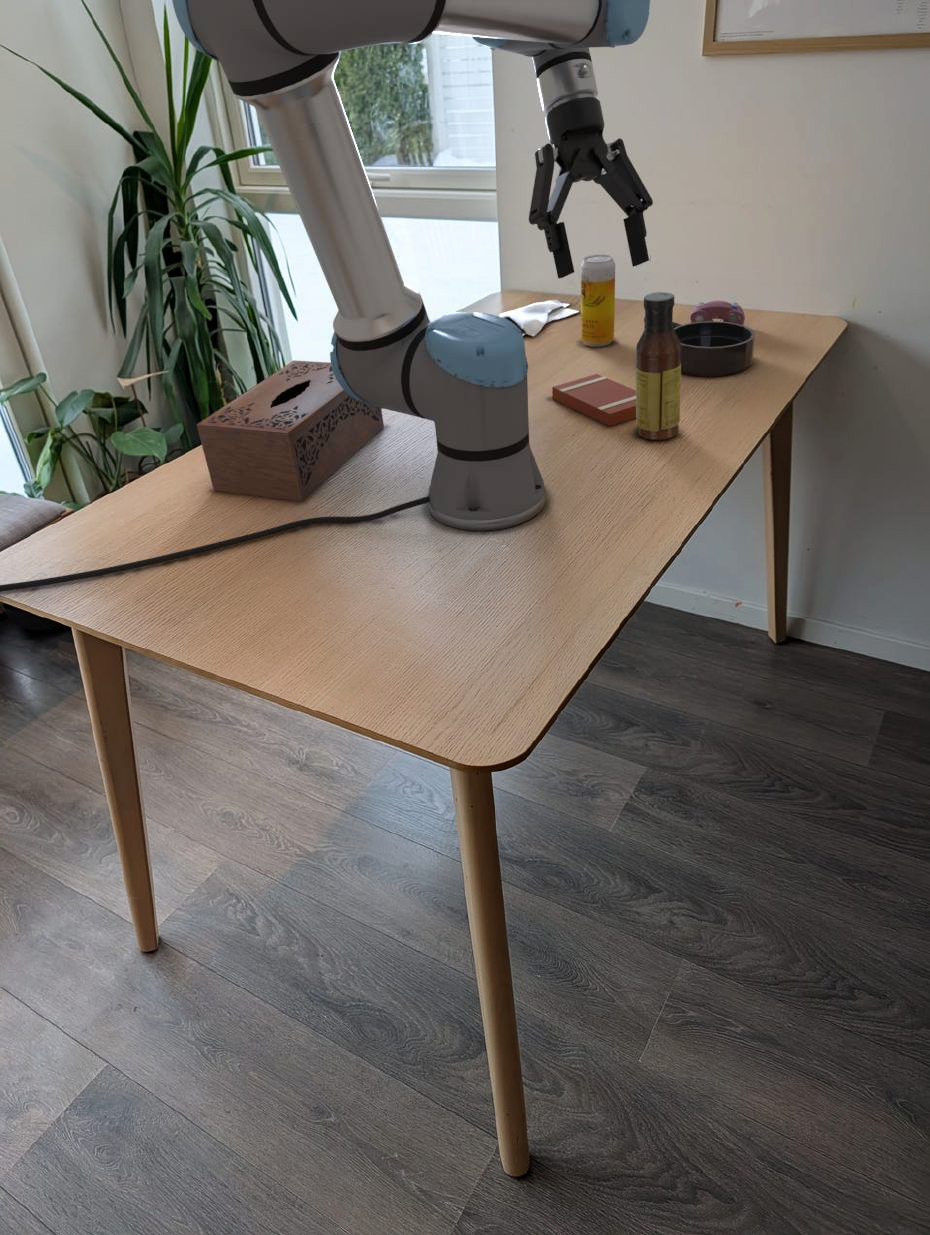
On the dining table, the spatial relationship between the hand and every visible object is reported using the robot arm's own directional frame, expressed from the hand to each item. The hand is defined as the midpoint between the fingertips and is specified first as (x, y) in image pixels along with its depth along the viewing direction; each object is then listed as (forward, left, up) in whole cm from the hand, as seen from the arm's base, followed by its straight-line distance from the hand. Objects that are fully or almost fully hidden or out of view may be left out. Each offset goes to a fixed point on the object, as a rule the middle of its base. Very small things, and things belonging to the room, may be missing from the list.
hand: (604, 269), depth 123 cm
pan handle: (+29, +20, -19) cm, 40 cm away
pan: (+29, +8, -22) cm, 37 cm away
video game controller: (+42, +20, -23) cm, 52 cm away
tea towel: (+4, +5, -22) cm, 23 cm away
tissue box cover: (-42, +18, -22) cm, 51 cm away
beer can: (+22, +30, -22) cm, 44 cm away
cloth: (+20, +51, -23) cm, 59 cm away
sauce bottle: (+3, -9, -22) cm, 24 cm away
